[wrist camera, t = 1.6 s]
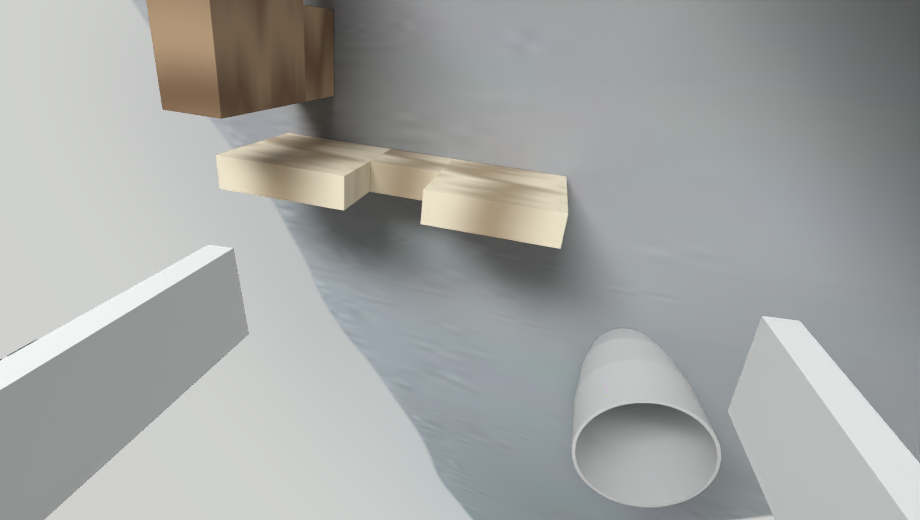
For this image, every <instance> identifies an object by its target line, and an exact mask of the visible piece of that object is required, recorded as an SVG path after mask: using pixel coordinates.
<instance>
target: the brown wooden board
mask: <svg viewBox="0 0 920 520" xmlns="http://www.w3.org/2000/svg"><path fill="white" fill-rule="evenodd" d="M146 2H147V9H148V15H149V22H150V29H151V35H152V42H153V49H154V55H155V62H156V69H157V75H158V82H159V88H160V94H161V102H162V108H163V110H170V111H176V112H182V113H188V114H195V115H201V116H208V117H214V118H220V119H222V118H227V117H232V116H237V115H242V114H247V113H252V112H257V111H262V110H267V109H272V108H277V107H282V106H287V105H291V104H296V103H301V102H306V101H311V100H316V99H321V98H326V97H331V96H334V10H331V9H325V8H320V7H314V6H309V5H303V0H146Z"/></svg>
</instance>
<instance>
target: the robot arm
mask: <svg viewBox="0 0 920 520" xmlns="http://www.w3.org/2000/svg"><path fill="white" fill-rule="evenodd" d="M248 334H249V332H248V327H247V321H246V316H245V311H244V304H243V299H242V293H241V288H240V282H239V276H238V271H237V265H236V260H235V254H234V249H233V248H229V247H220V246H213V245H207V246H205V247H204V248H202V249H200V250H198V251H196V252H194V253H193V254H191V255H189V256H187V257H185V258H184V259H182V260H180V261H178V262H177V263H175V264H173V265H171V266H169V267H168V268H166V269H164V270H162V271H160V272H159V273H157V274H155V275H153V276H151V277H150V278H148V279H146V280H144V281H142V282H141V283H139V284H137V285H135V286H133V287H132V288H130V289H128V290H126V291H124V292H123V293H121V294H119V295H117V296H115V297H114V298H112V299H110V300H108V301H106V302H105V303H103V304H101V305H99V306H97V307H96V308H94V309H92V310H91V311H89V312H87V313H85V314H83V315H81V316H80V317H78V318H76V319H74V320H72V321H71V322H69V323H67V324H65V325H63V326H62V327H60V328H58V329H56V330H55V331H53V332H51V333H49V334H47V335H46V336H44V337H42V338H40V339H37V340H35V341H33V342H31V343H29V344H27V345H26V346H24V347H22V348H20V349H18V350H17V351H15V352H13V353H11V354H10V355H8V356H7V357H6V358H4V359H0V520H44V519H45V518H46V517H48V516H49V515H50V514H51V513H52V512H53V511H54V510H55V509H56V508H57V507H59V506H60V505H61V504H62V503H63V502H64V501H65V500H66V499H67V498H68V497H70V496H71V495H72V494H73V493H74V492H75V491H76V490H77V489H78V488H80V486H82V485H83V484H84V483H85V482H86V481H87V480H88V479H89V478H91V477H92V476H93V475H94V474H95V473H96V472H97V471H98V470H99V469H101V468H102V467H103V466H104V465H105V464H106V463H107V462H108V461H109V460H110V459H111V458H113V457H114V456H115V455H116V454H117V453H118V452H119V451H120V450H121V449H122V448H124V447H125V446H126V445H127V444H128V443H129V442H130V441H131V440H132V439H134V438H135V437H136V436H137V435H138V434H139V433H140V432H141V431H142V430H144V429H145V427H147V426H148V425H149V424H150V423H151V422H152V421H153V420H155V418H157V417H158V416H159V415H160V414H161V413H162V412H163V411H164V410H165V409H167V408H168V407H169V406H170V405H171V404H172V403H173V402H174V401H175V400H176V399H178V398H179V397H180V396H181V395H182V394H183V393H184V392H185V391H186V390H188V389H189V388H190V387H191V386H192V385H193V384H194V383H195V382H196V381H198V380H199V379H200V378H201V377H202V376H203V375H204V374H205V373H206V372H207V371H208V370H210V369H211V368H212V367H213V366H214V365H215V364H216V363H217V362H218V361H220V360H221V359H222V358H223V357H224V356H225V355H226V354H227V353H228V352H229V351H230V350H232V349H233V348H234V347H235V346H236V345H237V344H238V343H239V342H240V341H242V340H243V339H244V338H245V337H246V336H247V335H248ZM728 413H729V416H730V418H731V420H732V423H733V425H734V427H735V429H736V432H737V434H738V436H739V439H740V441H741V443H742V445H743V448H744V450H745V452H746V455H747V457H748V459H749V461H750V464H751V466H752V468H753V471H754V473H755V475H756V477H757V480H758V482H759V484H760V487H761V489H762V491H763V493H764V496H765V498H766V500H767V503H768V505H769V507H770V509H771V512H772V514H773V516H774V518H775V520H920V463H919V462H918V461H917V460H916V458H915V457H914V456H913V455H912V454H911V453H910V451H909V450H908V449H907V448H906V447H905V445H904V444H903V443H902V442H901V441H900V439H899V438H898V437H897V436H896V435H895V434H894V432H893V431H892V430H891V429H890V428H889V426H888V425H887V424H886V423H885V422H884V420H883V419H882V418H881V417H880V416H879V415H878V413H877V412H876V411H875V410H874V409H873V407H872V406H871V405H870V404H869V403H868V401H867V400H866V399H865V398H864V397H863V396H862V394H861V393H860V392H859V391H858V390H857V388H856V387H855V386H854V385H853V384H852V382H851V381H850V380H849V379H848V378H847V377H846V375H845V374H844V373H843V372H842V371H841V369H840V368H839V367H838V366H837V365H836V363H835V362H834V361H833V360H832V359H831V358H830V356H829V355H828V354H827V353H826V352H825V350H824V349H823V348H822V347H821V346H820V344H819V343H818V342H817V341H816V340H815V339H814V337H813V336H812V335H811V334H810V333H809V331H808V330H807V329H806V328H805V327H804V325H803V324H802V323H801V322H800V321H797V320H789V319H781V318H773V317H766V316H762V317H761V320H760V323H759V325H758V328H757V331H756V334H755V337H754V339H753V342H752V345H751V348H750V350H749V353H748V356H747V359H746V362H745V364H744V367H743V370H742V373H741V375H740V378H739V381H738V384H737V387H736V389H735V392H734V395H733V398H732V400H731V403H730V406H729V409H728Z"/></svg>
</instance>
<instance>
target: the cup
mask: <svg viewBox="0 0 920 520" xmlns="http://www.w3.org/2000/svg"><path fill="white" fill-rule="evenodd" d="M572 459H573V463H574V466H575V468H576V470H577V472H578V474H579V475H580V477H581V478H582V479H583V481H584V482H585V483H586V484H587V485H588V486H589V487H591V488H592V489H593V490H594V491H596V492H597V493H599V494H600V495H602V496H604V497H606V498H608V499H610V500H613V501H615V502H618V503H622V504H625V505H630V506H636V507H664V506H670V505H674V504H678V503H681V502H684V501H686V500H688V499H691V498H692V497H694V496H696V495H698V494H699V493H701V492H702V491H703V490H704V489H706V488H707V487H708V486H709V485H710V483H711V482H712V481H713V480H714V478H715V476H716V475H717V473H718V470H719V467H720V463H721V449H720V445H719V442H718V439H717V437H716V435H715V433H714V431H713V429H712V427H711V425H710V423H709V421H708V419H707V417H706V415H705V413H704V411H703V409H702V407H701V405H700V403H699V401H698V399H697V397H696V395H695V393H694V391H693V389H692V388H691V386H690V385H689V383H688V382H687V380H686V379H685V378H684V376H683V375H682V373H681V372H680V371H679V369H678V368H677V366H676V365H675V364H674V362H673V361H672V359H671V358H670V357H669V355H668V354H667V353H666V352H665V351H664V350H663V349H662V348H660V347H659V346H658V345H657V344H656V343H655V342H654V341H653V340H651V339H650V338H649V337H648V336H647V335H645V334H644V333H642V332H640V331H637V330H633V329H627V328H620V329H614V330H610V331H608V332H605V333H603V334H602V335H600V336H599V337H598V338H597V339H596V340H595V341H594V342H593V344H592V346H591V348H590V350H589V352H588V354H587V356H586V358H585V360H584V362H583V364H582V367H581V371H580V376H579V380H578V385H577V390H576V394H575V399H574V413H573V433H572Z"/></svg>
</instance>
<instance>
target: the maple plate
mask: <svg viewBox="0 0 920 520" xmlns="http://www.w3.org/2000/svg"><path fill="white" fill-rule="evenodd" d="M216 160H217V169H218V179H219V187H220V189H225V190H231V191H236V192H242V193H248V194H253V195H259V196H265V197H270V198H276V199H281V200H287V201H293V202H298V203H304V204H310V205H315V206H321V207H327V208H332V209H338V210H343V211H344V210H345V209H347V208H348V207H349V206H351V205H352V204H354V203H355V202H356V201H358V200H359V199H360V198H362V197H363V196H364V195H366V194H367V193H368V192H375V193H380V194H386V195H392V196H398V197H404V198H410V199H416V200H422V212H421V224H423V225H428V226H434V227H440V228H445V229H451V230H457V231H462V232H468V233H474V234H479V235H485V236H491V237H496V238H502V239H508V240H513V241H519V242H525V243H530V244H536V245H542V246H547V247H553V248H559V249H561V244H562V240H563V235H564V231H565V226H566V221H567V217H568V198H567V178H566V176H560V175H554V174H547V173H541V172H535V171H528V170H522V169H516V168H509V167H503V166H496V165H490V164H484V163H477V162H471V161H465V160H458V159H452V158H446V157H439V156H433V155H426V154H420V153H414V152H407V151H401V150H395V149H388V148H382V147H375V146H369V145H363V144H356V143H350V142H344V141H337V140H331V139H324V138H318V137H312V136H305V135H299V134H293V133H286V134H283V135H280V136H276V137H273V138H270V139H266V140H263V141H260V142H257V143H253V144H250V145H247V146H243V147H240V148H237V149H233V150H230V151H227V152H224V153H220V154H217V155H216Z"/></svg>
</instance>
